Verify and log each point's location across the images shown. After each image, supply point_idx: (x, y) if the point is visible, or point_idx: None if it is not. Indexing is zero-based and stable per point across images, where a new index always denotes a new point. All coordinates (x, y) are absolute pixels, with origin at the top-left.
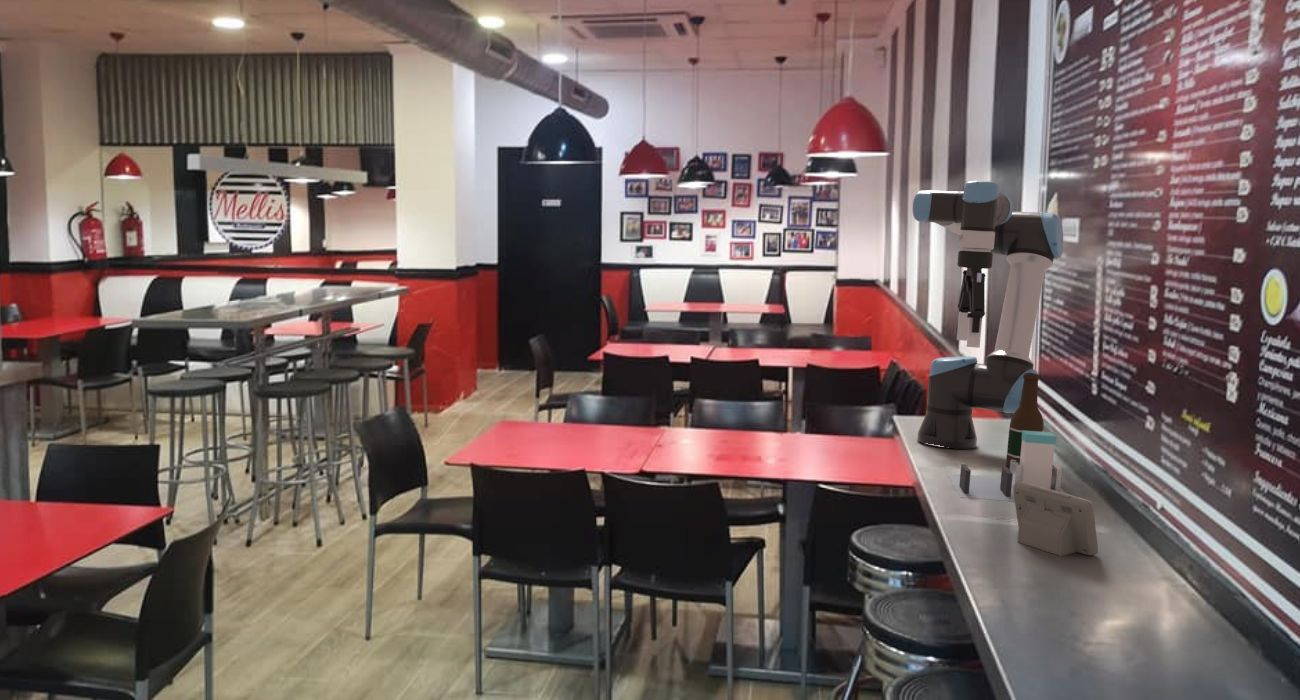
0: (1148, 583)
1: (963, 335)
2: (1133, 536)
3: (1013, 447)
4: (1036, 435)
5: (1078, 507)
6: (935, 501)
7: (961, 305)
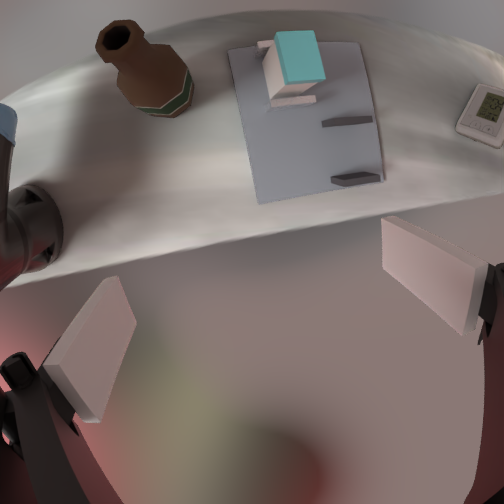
0: (501, 74)
1: (120, 313)
2: (417, 27)
3: (181, 102)
4: (321, 62)
5: None
6: (388, 210)
7: (93, 457)
